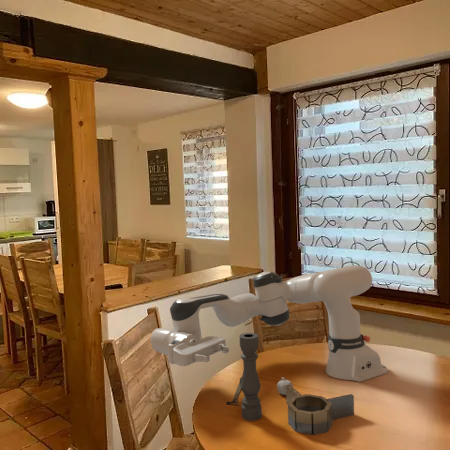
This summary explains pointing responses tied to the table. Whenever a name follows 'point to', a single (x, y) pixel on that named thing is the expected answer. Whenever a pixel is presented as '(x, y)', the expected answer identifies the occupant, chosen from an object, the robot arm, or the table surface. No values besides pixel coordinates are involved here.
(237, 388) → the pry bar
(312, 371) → the table surface
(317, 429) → the octagonal collar with flanges
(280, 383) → the garlic
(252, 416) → the candle holder
